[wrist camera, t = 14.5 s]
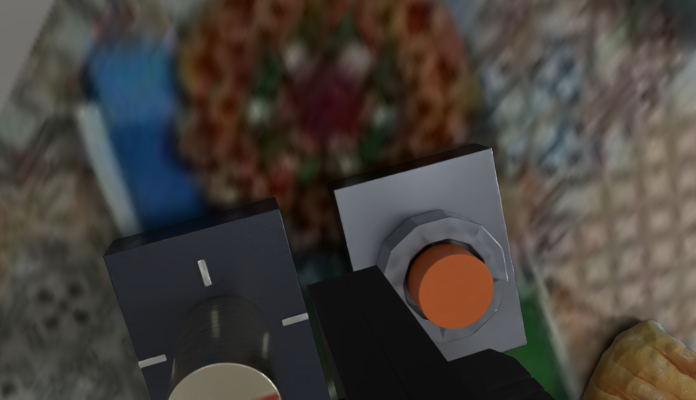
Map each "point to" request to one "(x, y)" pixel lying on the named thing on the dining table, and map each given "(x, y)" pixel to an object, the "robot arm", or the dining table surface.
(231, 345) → the dial
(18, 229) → the dining table surface
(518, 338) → the block
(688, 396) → the pastry
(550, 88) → the dining table surface
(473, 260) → the button
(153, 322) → the panel
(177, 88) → the dining table surface
